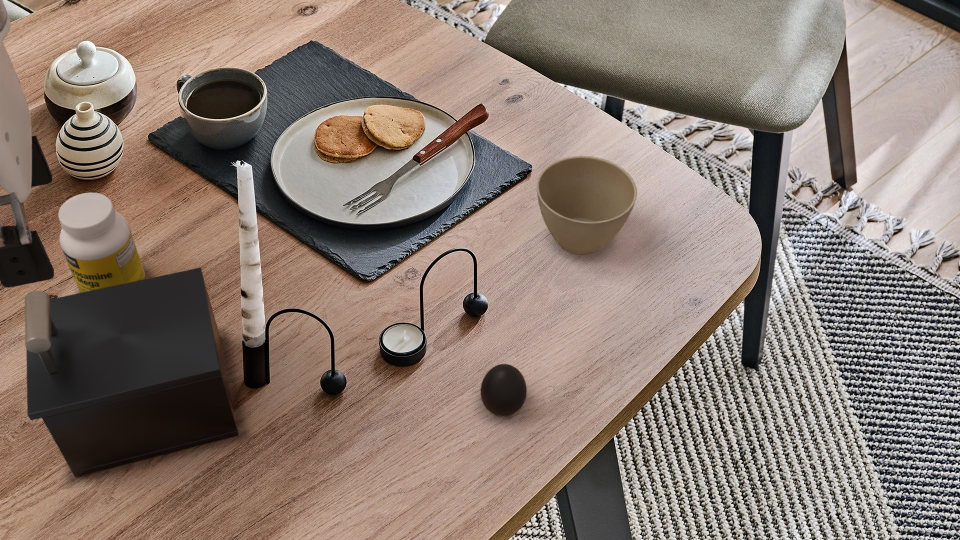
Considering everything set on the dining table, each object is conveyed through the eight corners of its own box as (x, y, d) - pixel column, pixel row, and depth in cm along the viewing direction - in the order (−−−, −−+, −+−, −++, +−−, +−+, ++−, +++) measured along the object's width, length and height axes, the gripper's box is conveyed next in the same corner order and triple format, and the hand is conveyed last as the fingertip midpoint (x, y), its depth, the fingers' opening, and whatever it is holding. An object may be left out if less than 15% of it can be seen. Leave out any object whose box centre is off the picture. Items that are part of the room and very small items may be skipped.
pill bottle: (70, 305, 91) (33, 224, 83) (105, 261, 95) (74, 180, 87) (127, 321, 90) (95, 240, 82) (160, 276, 94) (133, 194, 86)
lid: (30, 421, 72) (6, 378, 68) (28, 310, 79) (6, 266, 76) (221, 375, 75) (208, 332, 71) (202, 273, 83) (190, 229, 79)
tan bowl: (586, 193, 104) (594, 143, 99) (646, 248, 99) (657, 197, 93) (513, 228, 100) (517, 177, 95) (571, 286, 95) (578, 236, 89)
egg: (470, 404, 85) (471, 371, 81) (500, 377, 87) (502, 343, 83) (505, 430, 83) (507, 397, 79) (534, 402, 85) (538, 369, 81)
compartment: (75, 478, 79) (41, 418, 72) (69, 371, 86) (38, 308, 80) (239, 436, 82) (221, 375, 75) (220, 336, 89) (202, 273, 83)
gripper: (-127, -54, 57) (-24, 161, 70) (-165, 117, 46) (-34, 336, 59) (5, -70, 59) (82, 143, 72) (-2, 91, 48) (91, 310, 61)
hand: (30, 230), depth 65 cm, fingers open, 9 cm apart
